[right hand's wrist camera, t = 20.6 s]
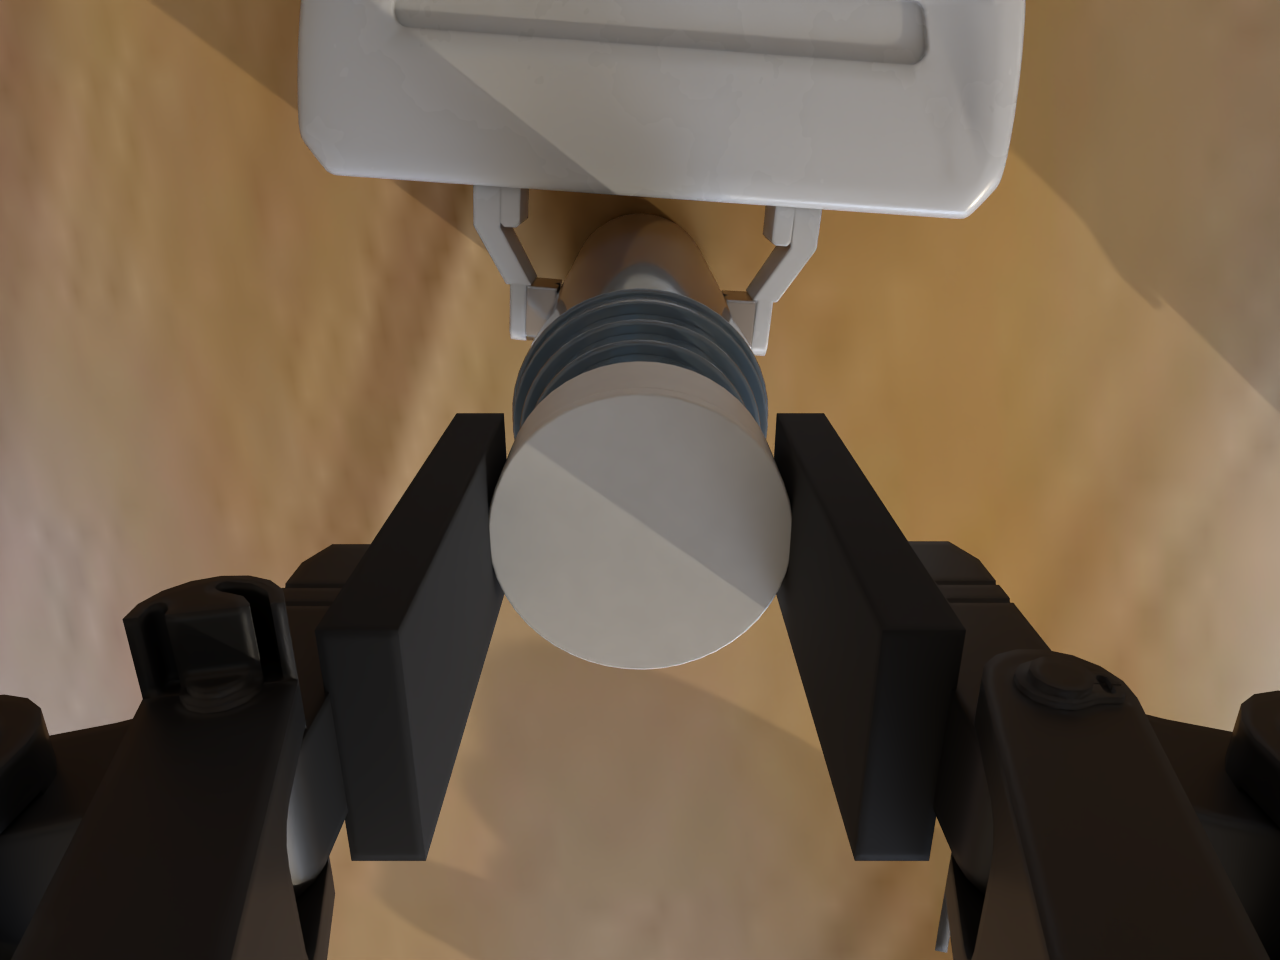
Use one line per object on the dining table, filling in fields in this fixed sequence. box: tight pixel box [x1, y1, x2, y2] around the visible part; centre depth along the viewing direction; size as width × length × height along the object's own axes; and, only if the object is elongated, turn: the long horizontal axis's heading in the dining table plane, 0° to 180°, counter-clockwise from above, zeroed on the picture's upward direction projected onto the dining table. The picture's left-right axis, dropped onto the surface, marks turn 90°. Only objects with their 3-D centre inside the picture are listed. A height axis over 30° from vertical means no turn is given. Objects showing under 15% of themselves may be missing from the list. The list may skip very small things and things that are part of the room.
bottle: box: [512, 213, 768, 440], centre depth 24 cm, size 5×5×23 cm
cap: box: [489, 361, 792, 669], centre depth 13 cm, size 4×4×2 cm
